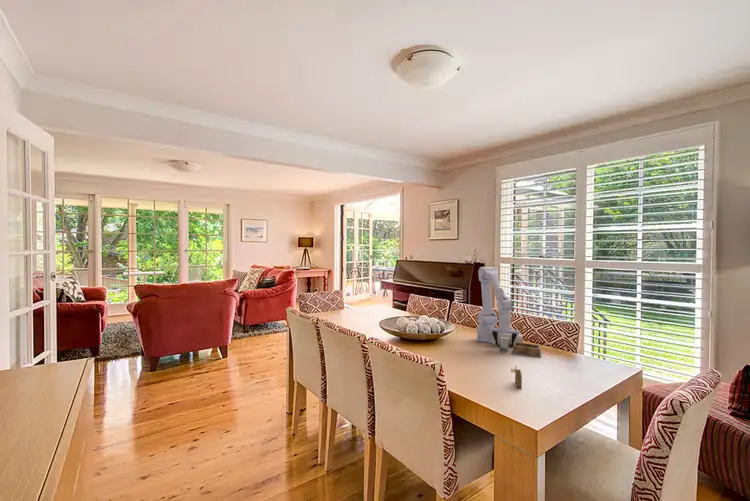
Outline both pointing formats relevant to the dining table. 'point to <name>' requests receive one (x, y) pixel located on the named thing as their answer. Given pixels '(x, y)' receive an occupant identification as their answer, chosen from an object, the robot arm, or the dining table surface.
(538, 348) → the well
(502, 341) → the brushed aluminum block
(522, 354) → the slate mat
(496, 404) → the dining table surface
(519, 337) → the coffee cup
